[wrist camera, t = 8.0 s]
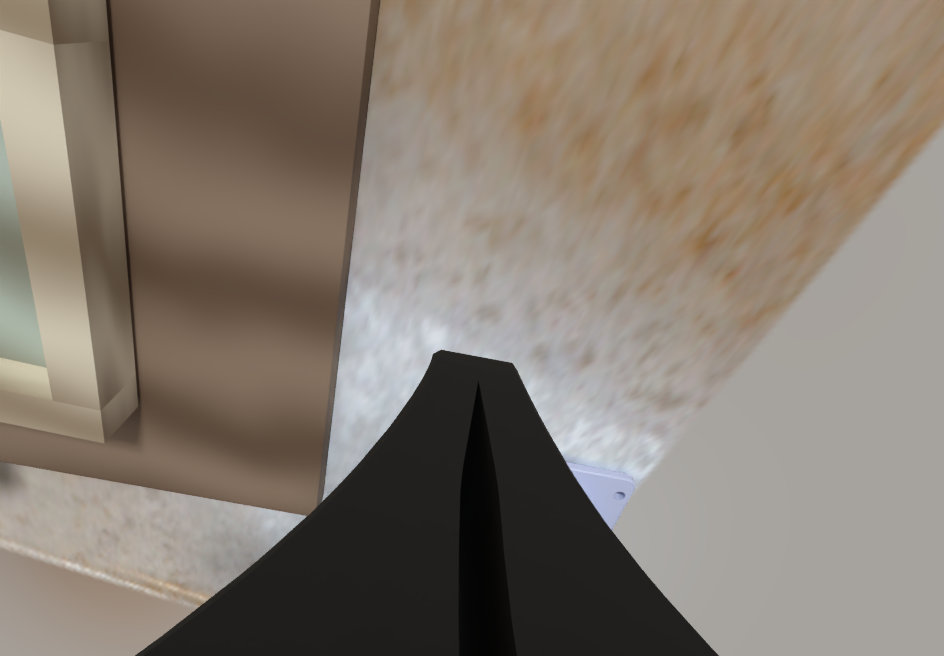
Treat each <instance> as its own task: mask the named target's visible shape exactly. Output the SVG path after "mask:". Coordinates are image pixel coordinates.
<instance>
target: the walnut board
mask: <svg viewBox="0 0 944 656" xmlns="http://www.w3.org/2000/svg"><path fill="white" fill-rule="evenodd" d="M379 4H380V0H106V8H107V21H108V33H109V46H110V58H111V71H112V83H113V96H114V108H115V121H116V133H117V146H118V158H119V171H120V183H121V196H122V208H123V221H124V233H125V246H126V259H127V271H128V284H129V296H130V309H131V321H132V334H133V346H134V359H135V371H136V384H137V396H138V407H137V408H136V410H135V411H134V412H133V413H132V414H131V415H130V416H129V417H128V418H127V419H126V421H125V422H124V423H123V424H122V425H121V426H120V427H119V428H118V429H117V431H116V432H115V433H114V434H113V435H112V436H111V437H110V438H109V439H108V440H107V442H106V443H105V444H104V443H99V442H95V441H90V440H85V439H80V438H75V437H71V436H66V435H61V434H56V433H51V432H47V431H42V430H37V429H32V428H27V427H23V426H18V425H13V424H8V423H3V422H0V461H1V462H7V463H13V464H18V465H24V466H29V467H35V468H41V469H46V470H52V471H58V472H63V473H69V474H75V475H80V476H86V477H92V478H97V479H103V480H108V481H114V482H120V483H125V484H131V485H137V486H142V487H148V488H154V489H159V490H165V491H171V492H176V493H182V494H187V495H193V496H199V497H204V498H210V499H216V500H221V501H227V502H233V503H238V504H244V505H250V506H255V507H261V508H266V509H272V510H278V511H283V512H289V513H295V514H300V515H306V516H308V515H309V514H310V513H311V512H312V511H313V510H314V509H315V508H316V507H317V506H318V505H320V503H321V500H322V497H323V491H324V482H325V474H326V465H327V456H328V448H329V439H330V430H331V422H332V413H333V404H334V396H335V387H336V378H337V369H338V361H339V352H340V343H341V335H342V326H343V317H344V309H345V300H346V291H347V283H348V274H349V265H350V256H351V248H352V239H353V230H354V222H355V213H356V204H357V196H358V187H359V178H360V170H361V161H362V152H363V143H364V135H365V126H366V117H367V109H368V100H369V91H370V83H371V74H372V65H373V57H374V48H375V39H376V30H377V22H378V13H379Z"/></svg>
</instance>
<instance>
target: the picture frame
mask: <svg viewBox="0 0 944 656" xmlns="http://www.w3.org/2000/svg"><path fill="white" fill-rule="evenodd" d="M137 407H138V396H137V384H136V371H135V359H134V346H133V334H132V321H131V309H130V296H129V284H128V271H127V259H126V246H125V233H124V221H123V208H122V196H121V183H120V171H119V158H118V146H117V133H116V121H115V108H114V96H113V83H112V71H111V58H110V46H109V33H108V21H107V8H106V0H0V422H3V423H8V424H13V425H18V426H23V427H27V428H32V429H37V430H42V431H47V432H51V433H56V434H61V435H66V436H71V437H75V438H80V439H85V440H90V441H95V442H99V443H104V444H105V443H106V442H107V440H108V439H109V438H110V437H111V436H112V435H113V434H114V433H115V432H116V431H117V429H118V428H119V427H120V426H121V425H122V424H123V423H124V422H125V421H126V419H127V418H128V417H129V416H130V415H131V414H132V413H133V412H134V411H135V410H136V408H137Z"/></svg>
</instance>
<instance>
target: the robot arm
mask: <svg viewBox="0 0 944 656" xmlns="http://www.w3.org/2000/svg"><path fill="white" fill-rule="evenodd" d="M634 489H635V484H634V480H633V478H632V477H631V476H630V475H628V474H625V473H620V472H614V471H609V470H604V469H599V468H594V467H589V466H583V465H578V464H573V463H568V462H565V460H564V458H563V456H562V455H561V453H560V451H559V449H558V448H557V446H556V444H555V443H554V441H553V439H552V437H551V436H550V434H549V432H548V431H547V429H546V427H545V425H544V423H543V421H542V420H541V418H540V416H539V414H538V412H537V410H536V408H535V406H534V404H533V402H532V400H531V398H530V396H529V394H528V392H527V390H526V388H525V386H524V384H523V382H522V380H521V378H520V376H519V373H518V371H517V369H516V368H515V366H514V365H513V363H509V362H504V361H499V360H493V359H488V358H482V357H477V356H472V355H466V354H461V353H456V352H450V351H445V350H440V351H438V352H436V353H434V354H433V356H432V360H431V363H430V365H429V367H428V369H427V371H426V373H425V375H424V377H423V379H422V381H421V382H420V384H419V385H418V387H417V389H416V390H415V392H414V394H413V395H412V397H411V398H410V399H409V401H408V402H407V404H406V405H405V406H404V408H403V409H402V411H401V412H400V413H399V415H398V416H397V418H396V419H395V420H394V422H393V423H392V424H391V426H390V427H389V428H388V430H387V431H386V432H385V433H384V434H383V436H382V437H381V438H380V439H379V440H378V442H377V443H376V444H375V445H374V446H373V448H372V449H371V450H370V451H369V452H368V454H367V455H366V456H365V457H364V458H363V459H362V461H361V462H360V463H359V464H358V465H357V466H356V467H355V468H354V470H353V471H352V472H351V473H350V474H349V475H348V476H347V477H346V478H345V479H344V480H343V481H342V482H341V483H340V484H339V485H338V487H337V488H336V489H335V490H334V491H333V492H332V493H331V494H330V495H329V496H328V497H327V498H326V499H325V500H324V501H323V502H322V503H321V504H320V505H318V506H317V507H316V508H315V509H314V510H313V511H312V512H311V513H310V514H309V515H308V516H307V517H306V518H305V519H304V520H303V521H301V522H300V523H299V524H298V525H297V526H296V527H295V528H294V529H293V530H292V531H290V532H289V533H288V534H287V535H286V536H285V537H284V538H283V539H282V540H280V541H279V542H278V543H277V544H276V545H275V546H274V547H273V548H272V549H271V550H269V551H268V552H267V553H266V554H265V555H263V556H262V557H261V558H260V559H259V560H258V561H256V562H255V563H254V564H253V565H252V566H251V567H249V568H248V569H247V570H246V571H245V572H243V573H242V574H241V575H240V576H238V577H237V578H236V579H235V580H233V581H232V582H231V583H229V584H228V585H227V586H226V587H224V588H223V589H222V590H220V591H219V592H218V593H217V594H215V595H214V596H213V597H211V598H210V599H209V600H208V601H206V602H205V603H204V604H202V605H201V606H200V607H199V608H197V609H196V610H195V611H194V612H192V613H191V614H190V615H188V616H187V617H186V618H185V619H183V620H182V621H181V622H179V623H178V624H177V625H176V626H174V627H173V628H172V629H170V630H169V631H168V632H167V633H165V634H164V635H163V636H161V637H160V638H159V639H157V640H156V641H154V642H153V643H152V644H150V645H149V646H148V647H146V648H145V649H144V650H142V651H141V652H139V653H138V654H137V655H135V656H718V654H717V653H716V652H715V651H714V650H713V649H712V648H711V647H710V646H709V645H708V644H707V643H706V641H705V640H704V639H703V638H702V637H701V636H700V635H699V634H698V633H697V631H696V630H695V629H694V628H693V627H692V626H691V625H690V624H689V623H688V622H687V620H686V619H685V618H684V617H683V616H682V615H681V614H680V613H679V612H678V610H677V609H676V608H675V607H674V606H673V605H672V604H671V603H670V602H669V601H668V599H667V598H666V597H665V596H664V595H663V594H662V592H661V591H660V590H659V589H658V588H657V587H656V586H655V584H654V583H653V582H652V581H651V580H650V578H649V577H648V576H647V575H646V574H645V572H644V571H643V570H642V569H641V567H640V566H639V565H638V564H637V562H636V561H635V560H634V558H633V557H632V556H631V555H630V553H629V552H628V551H627V550H626V548H625V547H624V546H623V544H622V543H621V542H620V541H619V539H618V538H617V537H616V535H615V534H614V533H613V532H612V529H613V527H614V526H615V524H616V522H617V520H618V518H619V517H620V515H621V513H622V511H623V509H624V507H625V506H626V504H627V502H628V500H629V498H630V497H631V495H632V493H633V491H634ZM617 492H620V493H617Z"/></svg>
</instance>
